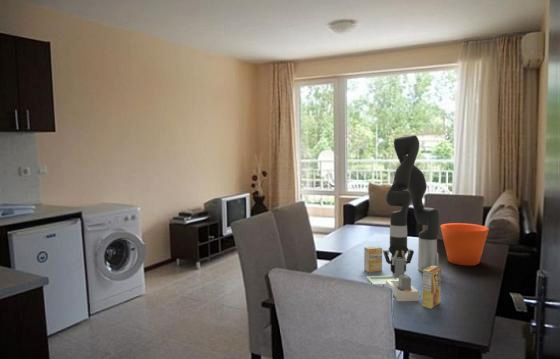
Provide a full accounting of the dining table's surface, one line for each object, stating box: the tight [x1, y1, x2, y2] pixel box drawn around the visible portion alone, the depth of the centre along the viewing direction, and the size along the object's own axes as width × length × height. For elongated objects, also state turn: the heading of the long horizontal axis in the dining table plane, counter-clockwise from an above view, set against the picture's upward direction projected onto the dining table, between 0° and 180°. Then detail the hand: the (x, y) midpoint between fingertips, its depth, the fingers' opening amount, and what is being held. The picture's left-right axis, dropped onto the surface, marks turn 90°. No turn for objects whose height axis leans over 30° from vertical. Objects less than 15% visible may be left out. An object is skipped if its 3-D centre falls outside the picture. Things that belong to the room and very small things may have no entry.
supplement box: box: [363, 246, 383, 273], centre depth 214 cm, size 8×5×13 cm, turn 105°
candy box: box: [421, 265, 442, 309], centre depth 168 cm, size 9×4×15 cm, turn 137°
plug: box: [391, 257, 405, 278], centre depth 184 cm, size 4×4×9 cm
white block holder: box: [385, 274, 419, 302], centre depth 181 cm, size 16×9×10 cm, turn 3°
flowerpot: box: [439, 222, 490, 266], centre depth 232 cm, size 25×25×20 cm
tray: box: [366, 275, 398, 287], centre depth 196 cm, size 14×12×2 cm
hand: (398, 272), depth 184 cm, fingers closed on plug, 4 cm apart
